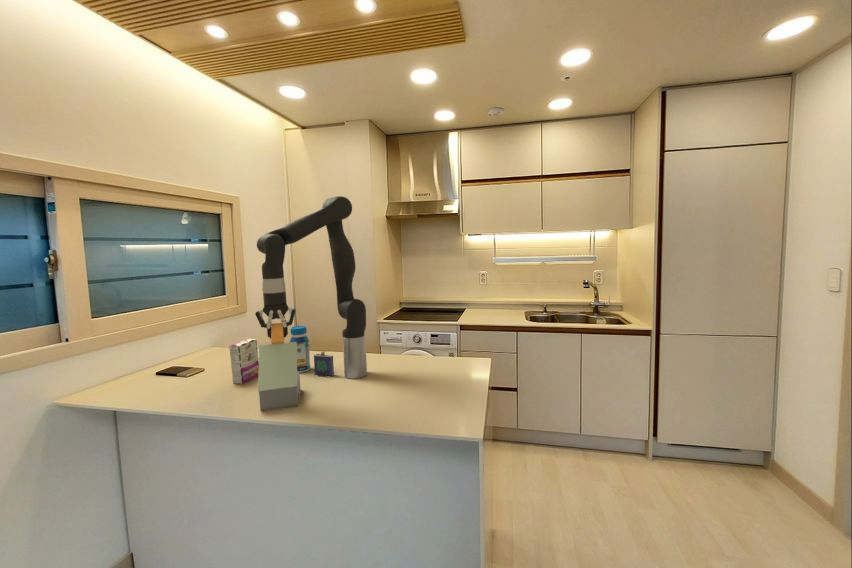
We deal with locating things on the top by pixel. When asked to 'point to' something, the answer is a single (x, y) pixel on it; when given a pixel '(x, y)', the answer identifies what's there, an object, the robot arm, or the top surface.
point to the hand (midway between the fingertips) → (278, 337)
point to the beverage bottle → (301, 347)
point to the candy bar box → (244, 361)
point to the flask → (323, 364)
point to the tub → (280, 397)
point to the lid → (277, 362)
